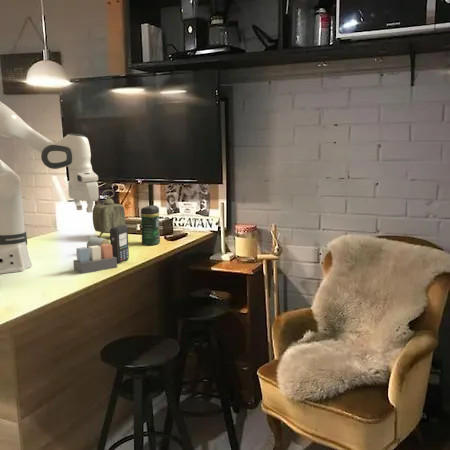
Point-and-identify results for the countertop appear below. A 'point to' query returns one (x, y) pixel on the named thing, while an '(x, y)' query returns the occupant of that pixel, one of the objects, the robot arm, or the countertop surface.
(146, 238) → the coffee jar
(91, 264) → the grey rectangular tray
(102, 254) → the key rust
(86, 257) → the key blue
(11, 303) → the countertop surface
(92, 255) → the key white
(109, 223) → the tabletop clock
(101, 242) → the ceramic mug
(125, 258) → the card reader
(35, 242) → the countertop surface
